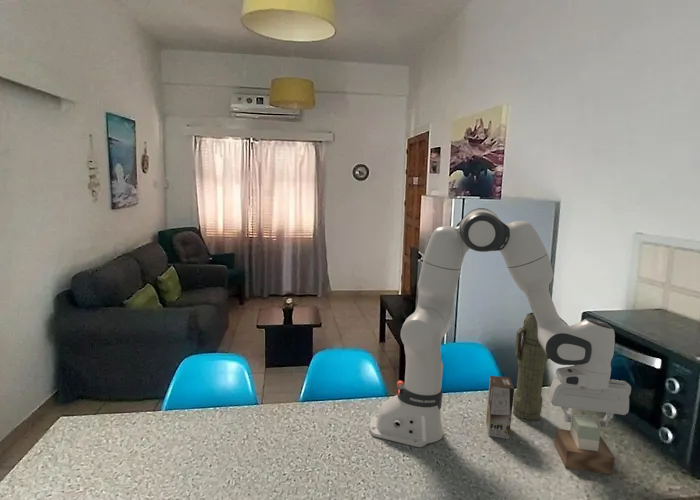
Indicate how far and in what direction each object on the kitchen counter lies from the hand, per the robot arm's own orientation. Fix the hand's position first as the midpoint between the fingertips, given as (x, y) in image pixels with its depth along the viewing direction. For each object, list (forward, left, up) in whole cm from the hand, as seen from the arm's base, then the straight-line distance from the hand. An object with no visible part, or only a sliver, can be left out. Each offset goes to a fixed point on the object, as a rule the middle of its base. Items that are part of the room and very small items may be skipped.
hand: (585, 423), depth 132 cm
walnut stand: (0, 0, -11) cm, 11 cm away
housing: (0, 0, -6) cm, 6 cm away
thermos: (-11, +23, -11) cm, 28 cm away
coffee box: (-22, +10, -11) cm, 26 cm away
